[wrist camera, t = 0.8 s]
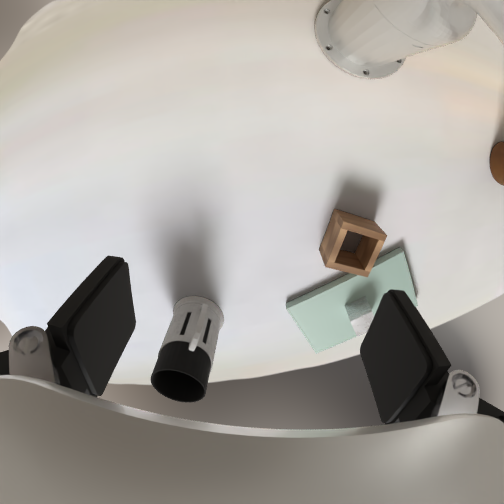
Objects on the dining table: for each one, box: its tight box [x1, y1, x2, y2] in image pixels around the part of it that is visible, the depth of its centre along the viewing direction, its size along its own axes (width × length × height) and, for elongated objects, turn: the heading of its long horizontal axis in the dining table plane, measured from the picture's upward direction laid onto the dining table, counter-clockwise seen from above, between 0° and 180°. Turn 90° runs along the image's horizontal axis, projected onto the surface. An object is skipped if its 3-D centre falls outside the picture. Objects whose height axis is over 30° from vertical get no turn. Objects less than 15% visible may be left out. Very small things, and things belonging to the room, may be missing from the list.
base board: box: [286, 247, 418, 354], centre depth 43 cm, size 20×12×2 cm, turn 121°
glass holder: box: [151, 296, 224, 402], centre depth 38 cm, size 9×14×15 cm, turn 158°
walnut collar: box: [319, 209, 387, 277], centre depth 36 cm, size 6×6×5 cm
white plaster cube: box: [345, 296, 374, 336], centre depth 41 cm, size 4×4×4 cm
